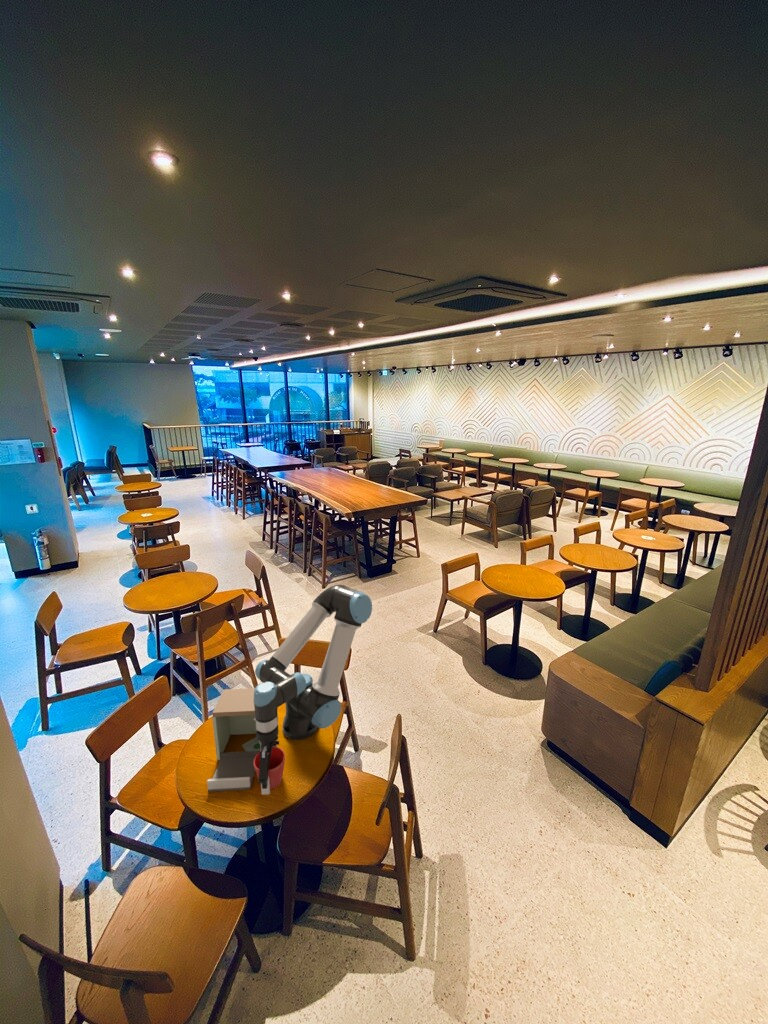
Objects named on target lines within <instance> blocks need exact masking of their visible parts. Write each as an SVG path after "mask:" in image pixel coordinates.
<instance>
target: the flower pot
mask: <svg viewBox="0 0 768 1024" xmlns="http://www.w3.org/2000/svg"><path fill="white" fill-rule="evenodd" d="M269 753H270V752H268V754H269ZM285 761H286V753H285V752H284V749H282V748H280V747H278V746H277V747H272V755H271V756H270V762H269V773H268V777H269V783H270V790H273V789H275V788H277V787H278V786H279V785H280V784H281V782H282V780H283V775H284V768H285ZM259 767H260V752H259V753H258V754H257V755H256V756H255V758H254V768H255V771H256V772H255V775H256V776H257V780H258V779H259ZM260 786H261V784H260Z"/></svg>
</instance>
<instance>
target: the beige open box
mask: <svg viewBox="0 0 768 1024" xmlns="http://www.w3.org/2000/svg"><path fill="white" fill-rule="evenodd" d="M255 688H256V687H252V688H251V687H250V688H231V689H230V688H228V689H227V688H225V689H223V691H222V693H221V695H220V697H219V699H218V701H217V703H216V705H215V707H214V709H213V711H212V718H211V719H212V726H213V737H214V744H215V745H214V746H215V753H216V754H215V755H216V761H220V759H221V753H224V752H225V749H226V746H227V744H228V743H229V739H230V737H231V736H232V735H234V736H235V735H237V736H238V735H253V734H254V735H256V721H254V718H255V708H254V690H255ZM259 748H260V749H259V751H261V742H259Z"/></svg>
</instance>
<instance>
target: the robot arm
mask: <svg viewBox="0 0 768 1024" xmlns="http://www.w3.org/2000/svg"><path fill="white" fill-rule="evenodd" d="M372 612H373V602H372V599H371V598H370V596H369V595H368V594H367V593H364V592H363V591H360V590H357V589H355V588H352V587H349V586H346V585H344V584H335V585H332V586H330V587H328V588H326V589H325V590H323V591H322V592H321V593H320V594H319V595H317V597H316V598H315V599H314V600H313V601H312V603H311V607H310V608H309V610H308V611H307V613H306V614H305V615H304V616H303V617H302V618H301V620H300V621H299V623H297V625H296V626H295V627H294V629H292V631H290V633H289V635H287V637H286V638H285V640H283V642H282V643H281V645H280V646H279V647H278V648H277V649H276V650H275V652H274V653H273V655H272V656H271V657H270V658H269V659H263V660H262V661H259V662H258V664H256V667H255V670H254V674H255V677H256V678H257V679H258V680H260V682H261V683H259V684H257V685H256V686H255V687H254V688H255V690H254V708H255V718H254V721H256V734H255V737H256V740H257V741H258V742H259V743H260V742H261V751H260V750H259V751H260V767H259V779H258V778H257V781H258V784H261V785H260V788H261V789H260V790H261V795H262V796H263V795H271V789H270V783H269V777H268V773H269V762H270V756H271V755H272V747H278V746H279V745H280V740H279V719H278V717H279V716H278V708H279V707H281V706H282V705H284V704H285V715H284V718H283V721H282V732H283V735H284V736H285V737H287V738H288V739H290V740H292V741H293V740H294V741H300V740H305V739H307V738H310V737H311V736H313V735H315V733H316V732H317V730H318V728H319V729H327V728H328V727H330V726H332V725H333V724H334V723H335V722H336V721H337V720H338V718H339V716H340V714H341V711H342V703H341V701H339V697H340V693H341V692H340V690H339V685H340V681H341V679H342V675H343V672H344V669H345V666H346V663H347V660H348V657H349V653H350V650H351V647H352V645H353V644H352V643H353V640H354V637H355V634H356V632H357V631H356V630H358V629H359V628H361V627H362V625H363V624H364V623H366V622H367V621H368V620H369V619H370V617H371V615H372ZM334 613H335V614H334ZM333 614H334V618H333V619H334V621H335V626H334V629H333V632H332V636H331V638H330V641H329V645H328V648H327V651H326V654H325V658H324V660H323V664H322V666H321V670H320V672H319V675H318V679H317V681H316V682H313V681H314V680H313V677H312V676H311V674H308V673H301V672H300V671H299V672H297V671H296V672H294V673H293V672H292V674H290V673H288V672H287V671H286V670H287V669H288V667H289V665H291V663H292V662H293V661H294V660H295V658H296V657H297V655H298V654H299V653H300V651H301V650H302V649H303V648H304V647H305V645H306V644H307V643H308V641H309V640H310V639H311V638H312V637H313V635H314V633H316V632H317V630H318V628H319V627H320V626H321V625H322V623H323V622H324V621H325V619H327V618H330V617H331V616H332V615H333ZM268 752H270V753H269V754H268Z"/></svg>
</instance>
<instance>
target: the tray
mask: <svg viewBox="0 0 768 1024" xmlns="http://www.w3.org/2000/svg"><path fill="white" fill-rule="evenodd" d="M259 752H260V750H247V751H229V752H228V751H227V752H225V751H224V752H223V753H221V759H220V760H219V762H218V764H217V767H216V770H215V771H214V774H213V776H212V778H207V780H206V784H207V791H208V792H225V791H226V792H228V791H243V790H251V788H252V785H253V782H254V777H255V776H256V771H255V768H254V758H255V756H256V755H257V754H258V753H259Z"/></svg>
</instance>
